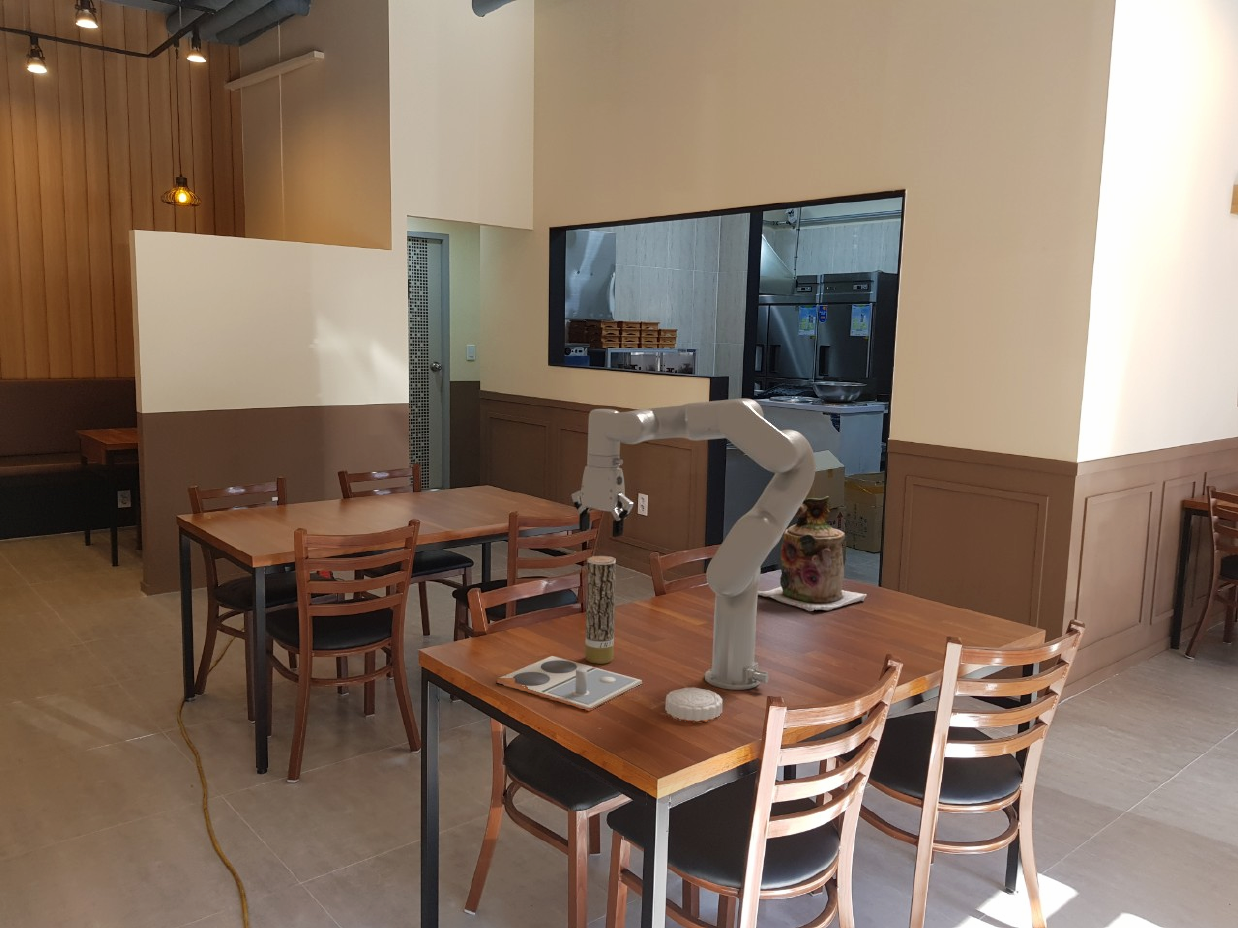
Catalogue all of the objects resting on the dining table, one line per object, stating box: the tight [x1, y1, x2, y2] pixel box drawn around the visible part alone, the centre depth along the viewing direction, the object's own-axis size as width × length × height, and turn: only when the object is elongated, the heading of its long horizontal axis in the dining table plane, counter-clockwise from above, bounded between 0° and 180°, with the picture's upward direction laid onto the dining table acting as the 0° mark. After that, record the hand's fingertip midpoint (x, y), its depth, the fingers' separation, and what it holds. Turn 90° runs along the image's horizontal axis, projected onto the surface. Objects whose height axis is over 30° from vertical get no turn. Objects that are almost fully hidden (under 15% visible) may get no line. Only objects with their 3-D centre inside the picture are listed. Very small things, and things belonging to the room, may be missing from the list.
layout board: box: [499, 655, 643, 708], centre depth 216 cm, size 26×20×6 cm
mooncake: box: [664, 686, 723, 721], centre depth 202 cm, size 12×12×4 cm
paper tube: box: [584, 555, 617, 665], centre depth 231 cm, size 7×7×25 cm
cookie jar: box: [758, 495, 867, 612], centre depth 289 cm, size 25×25×32 cm
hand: (600, 533), depth 228 cm, fingers open, 9 cm apart
